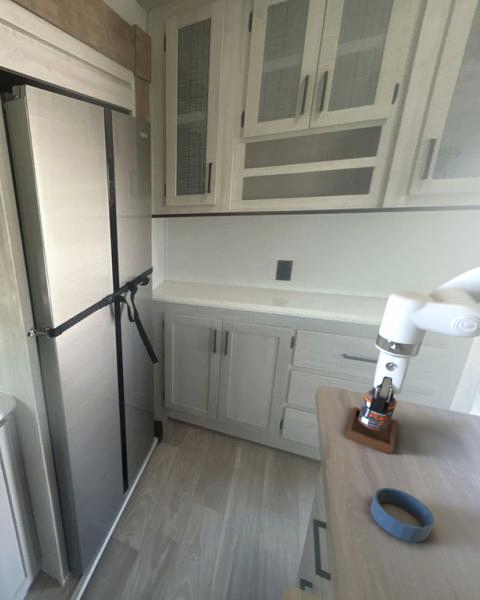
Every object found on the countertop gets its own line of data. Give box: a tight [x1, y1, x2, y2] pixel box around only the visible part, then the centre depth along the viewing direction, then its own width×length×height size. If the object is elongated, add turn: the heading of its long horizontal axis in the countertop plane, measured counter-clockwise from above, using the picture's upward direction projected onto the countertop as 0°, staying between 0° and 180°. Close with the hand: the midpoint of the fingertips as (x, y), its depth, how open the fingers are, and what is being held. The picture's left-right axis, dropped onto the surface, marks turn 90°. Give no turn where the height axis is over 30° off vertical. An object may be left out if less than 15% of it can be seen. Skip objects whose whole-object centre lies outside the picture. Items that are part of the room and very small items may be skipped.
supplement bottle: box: [359, 385, 397, 431], centre depth 84 cm, size 6×6×11 cm
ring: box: [369, 487, 435, 544], centre depth 66 cm, size 8×8×5 cm
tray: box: [344, 406, 398, 455], centre depth 87 cm, size 12×9×2 cm
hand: (378, 404), depth 84 cm, fingers closed on supplement bottle, 6 cm apart
